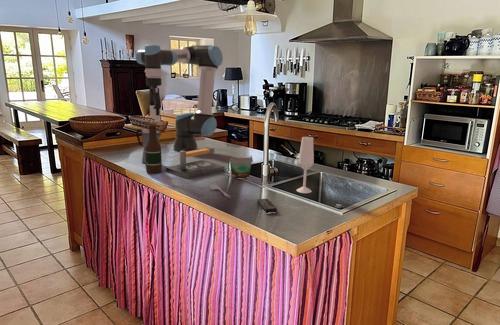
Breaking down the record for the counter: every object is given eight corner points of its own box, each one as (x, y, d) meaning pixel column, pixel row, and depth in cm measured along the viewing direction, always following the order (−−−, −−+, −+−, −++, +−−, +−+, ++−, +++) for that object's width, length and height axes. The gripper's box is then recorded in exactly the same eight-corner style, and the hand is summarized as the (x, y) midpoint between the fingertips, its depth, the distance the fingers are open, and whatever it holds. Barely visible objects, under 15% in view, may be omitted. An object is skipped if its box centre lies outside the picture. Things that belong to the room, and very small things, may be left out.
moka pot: (158, 165, 200) (157, 128, 195) (132, 163, 203) (130, 126, 198) (166, 161, 209) (165, 125, 204) (140, 159, 212) (139, 124, 207)
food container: (234, 180, 177) (234, 160, 174) (228, 177, 182) (229, 157, 180) (256, 178, 183) (257, 158, 180) (251, 174, 188) (251, 155, 185)
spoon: (216, 186, 169) (216, 183, 169) (239, 201, 152) (239, 197, 152) (207, 188, 167) (207, 184, 166) (230, 202, 150) (230, 198, 150)
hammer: (208, 161, 201) (208, 145, 199) (214, 163, 198) (214, 146, 195) (177, 168, 186) (177, 150, 184) (183, 170, 183) (183, 152, 181)
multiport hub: (267, 203, 150) (267, 198, 149) (277, 214, 140) (277, 208, 139) (256, 204, 149) (256, 199, 148) (265, 215, 138) (266, 209, 138)
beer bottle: (165, 170, 190) (163, 124, 184) (156, 174, 183) (154, 126, 177) (151, 169, 193) (150, 123, 186) (143, 173, 185) (140, 125, 179)
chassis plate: (202, 163, 207) (202, 158, 206) (224, 169, 195) (224, 165, 194) (165, 171, 189) (165, 166, 189) (188, 179, 178) (188, 174, 177)
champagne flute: (296, 192, 163) (299, 138, 157) (296, 187, 170) (300, 135, 164) (311, 193, 162) (315, 139, 156) (311, 188, 169) (315, 136, 163)
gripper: (142, 76, 195) (144, 116, 200) (150, 78, 173) (151, 123, 178) (156, 76, 198) (158, 116, 203) (166, 78, 176) (167, 123, 181)
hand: (155, 119), depth 191 cm, fingers open, 13 cm apart
